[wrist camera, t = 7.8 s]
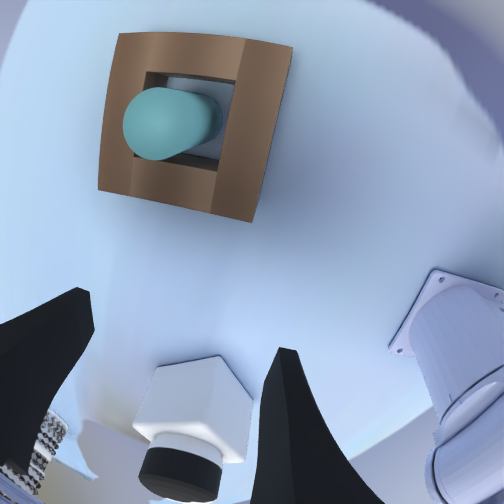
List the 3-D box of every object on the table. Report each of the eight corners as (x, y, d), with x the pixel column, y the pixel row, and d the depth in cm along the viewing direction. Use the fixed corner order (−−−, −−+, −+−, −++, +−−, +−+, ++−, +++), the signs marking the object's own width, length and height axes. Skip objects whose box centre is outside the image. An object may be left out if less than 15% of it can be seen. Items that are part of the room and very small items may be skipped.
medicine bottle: (155, 365, 26) (109, 473, 15) (220, 353, 24) (187, 485, 13) (193, 408, 28) (166, 505, 17) (254, 400, 26) (239, 512, 16)
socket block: (291, 59, 14) (293, 47, 11) (257, 205, 18) (252, 223, 15) (142, 42, 14) (119, 33, 11) (122, 177, 18) (97, 189, 15)
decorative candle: (71, 422, 37) (21, 529, 15) (69, 434, 41) (27, 527, 19) (29, 393, 36) (-28, 493, 13) (32, 409, 40) (-16, 497, 17)
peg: (225, 96, 15) (196, 88, 10) (218, 146, 16) (186, 164, 11) (175, 93, 15) (126, 87, 10) (170, 141, 16) (120, 157, 11)
